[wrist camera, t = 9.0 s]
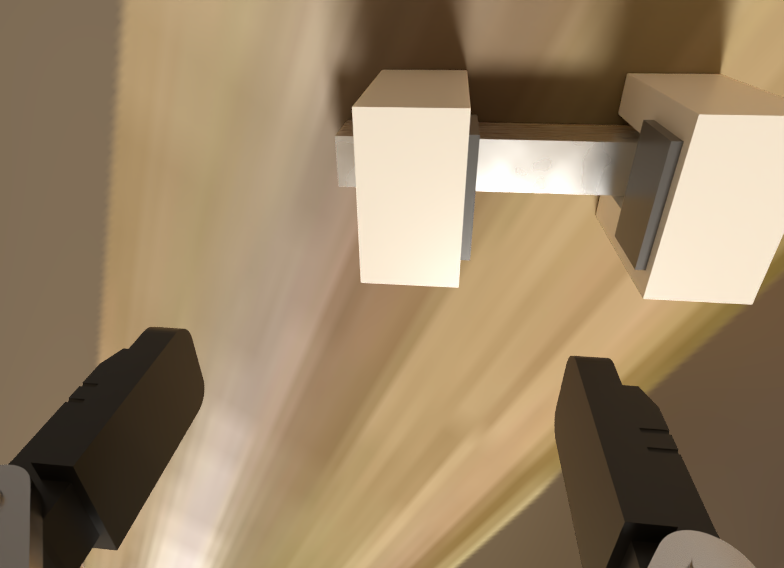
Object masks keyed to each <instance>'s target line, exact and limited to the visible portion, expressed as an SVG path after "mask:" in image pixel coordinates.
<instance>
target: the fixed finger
mask: <svg viewBox="0 0 784 568" xmlns="http://www.w3.org/2000/svg"><path fill="white" fill-rule="evenodd" d="M618 114H619V115H620V116H621V117H622V118H623V119H624V120H625V121H627V122H628V123H629V124H630V125H631V126H632V127H634V128H635V129H636V130H637V131H638V132H639V133H640V136H639V140H638V144H637V148H636V152H635V156H634V160H633V164H632V168H631V172H630V176H629V180H628V184H627V188H626V192H625V196H614V195H600V198H599V203H598V207H597V212H596V218H597V219H598V221H599V223H600V224H601V226H602V228H603V230H604V231H605V233H606V235H607V237H608V238H609V240H610V242H611V244H612V245H613V247H614V249H615V251H616V252H617V254H618V256H619V258H620V259H621V261H622V263H623V265H624V266H625V268H626V270H627V272H628V273H629V275H630V277H631V279H632V280H633V282H634V284H635V285H636V287H637V289H638V291H639V292H640V294H641V296H642V298H643V299H657V300H676V301H695V302H714V303H734V304H753V301H754V299H755V297H756V295H757V292H758V290H759V288H760V286H761V283H762V281H763V279H764V277H765V274H766V272H767V270H768V268H769V265H770V263H771V261H772V258H773V256H774V254H775V252H776V249H777V247H778V245H779V243H780V240H781V238H782V236H783V234H784V97H781V96H778V95H776V94H773V93H770V92H767V91H765V90H762V89H759V88H757V87H754V86H751V85H749V84H746V83H743V82H741V81H738V80H735V79H733V78H730V77H727V76H724V75H722V74H658V73H627V76H626V81H625V85H624V90H623V94H622V99H621V103H620V108H619V112H618Z"/></svg>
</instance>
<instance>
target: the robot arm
mask: <svg viewBox="0 0 784 568" xmlns="http://www.w3.org/2000/svg"><path fill="white" fill-rule="evenodd" d="M203 397H204V380H203V377H202V373H201V369H200V366H199V362H198V358H197V355H196V351H195V347H194V344H193V340H192V337H191V334H190V333H189V331H188V330H186V329H178V328H163V327H149V328H147V329H146V330H145V331H144V332H143V333H142V334H141V335H140V336H139V338H138V339H137V340H136V341H135V342H134V343H133V345H132V346H131V347H130V348H129V349H122V350H120V351H119V352H117V353H116V354H114V355H113V356H111V357H110V358H108V359H107V360H105V361H103V362H102V363H100V364H99V365H98V366H97V367H96V369H95V370H94V371H93V372H92V373H91V374H90V375H89V376H88V378H86V380H85V381H84V382H83V386H79V387H78V389H77V390H76V391H75V392H74V393H73V394H72V395H71V396H70V397H69V401H68V402H65V403H64V404H63V405H62V406H61V407H60V408H59V410H57V412H56V413H55V414H54V415H53V416H52V417H51V418H50V419H49V420H48V422H47V423H46V424H45V425H44V426H43V427H42V428H41V429H40V430H39V432H38V433H37V434H36V435H35V436H34V437H33V438H32V439H31V440H30V441H29V443H28V444H27V445H26V446H25V447H24V448H23V449H22V450H21V452H19V454H18V455H17V456H16V457H15V458H14V459H13V460H12V461H11V462H10V463H9V464H8V465H0V568H85V567H84V565H83V562H84V560H85V559H86V557H87V555H88V554H89V552H90V551H91V549H92V548H100V549H109V550H118V548H119V546H120V545H121V543H122V541H123V539H124V538H125V536H126V534H127V533H128V531H129V529H130V528H131V526H132V524H133V522H134V521H135V519H136V517H137V516H138V514H139V512H140V510H141V509H142V507H143V505H144V504H145V502H146V500H147V498H148V497H149V495H150V493H151V492H152V490H153V488H154V487H155V485H156V483H157V481H158V480H159V478H160V476H161V475H162V473H163V471H164V469H165V468H166V466H167V464H168V463H169V461H170V459H171V457H172V456H173V454H174V452H175V451H176V449H177V447H178V446H179V444H180V442H181V440H182V439H183V437H184V435H185V434H186V432H187V430H188V428H189V427H190V425H191V423H192V422H193V420H194V418H195V416H196V415H197V413H198V411H199V409H200V407H201V405H202V401H203ZM555 439H556V444H557V449H558V454H559V458H560V463H561V468H562V473H563V477H564V482H565V487H566V491H567V496H568V501H569V506H570V511H571V515H572V520H573V525H574V530H575V535H576V539H577V544H578V549H579V554H580V558H581V563H582V567H583V568H755V567H754V565H753V564H752V563H751V562H750V561H749V560H748V559H747V558H746V557H745V556H744V555H743V554H741V553H740V552H739V551H738V550H736V549H735V548H734V547H732V546H731V545H729V544H728V543H726V542H724V541H723V540H721V539H720V538H719V536H718V534H717V532H716V531H715V528H714V526H713V524H712V522H711V520H710V518H709V515H708V513H707V511H706V509H705V507H704V504H703V502H702V500H701V498H700V496H699V494H698V492H697V489H696V487H695V485H694V483H693V481H692V479H691V476H690V474H689V472H688V470H687V468H686V465H685V463H684V461H683V459H682V457H681V455H679V454H678V448H677V446H676V444H675V442H674V439H673V438H672V435H669V429H668V426H667V424H666V422H665V420H664V418H663V416H662V413H661V411H660V409H659V407H658V406H657V405H656V404H655V403H654V402H653V401H652V400H651V399H650V398H649V397H648V396H647V395H646V394H645V393H644V392H643V391H642V390H641V389H640V388H639V387H638V386H625V385H622V383H621V381H620V378H619V376H618V373H617V371H616V368H615V366H614V363H613V362H612V360H611V359H609V358H598V357H583V356H570V357H569V359H568V361H567V364H566V369H565V373H564V377H563V381H562V385H561V390H560V394H559V398H558V402H557V406H556V411H555Z"/></svg>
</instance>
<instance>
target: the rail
mask: <svg viewBox="0 0 784 568" xmlns="http://www.w3.org/2000/svg"><path fill="white" fill-rule="evenodd" d="M478 124H479V131H480V141H479V154H478V166H477V178H476V191H491V192H521V193H552V194H583V195H614V196H625V192H626V188H627V184H628V180H629V176H630V172H631V168H632V164H633V160H634V156H635V152H636V148H637V144H638V140H639V136H640V133H639V132H638V131H637V130H636V129H635V128H634V127H632V126H631V125H594V124H541V123H488V122H478ZM335 144H336V159H337V173H338V187H356V176H355V156H354V137H353V120H347V121H346V122H345V124H344V125H343V126H342V127H341V129H340V130H339V131H338V133H337V134H336V135H335Z"/></svg>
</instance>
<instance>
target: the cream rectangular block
mask: <svg viewBox="0 0 784 568" xmlns="http://www.w3.org/2000/svg"><path fill="white" fill-rule="evenodd" d="M470 113H471V105H470V95H469V85H468V75H467V70H381V72H380V73H379V74H378V75H377V77H376V78H375V79H374V80H373V82H372V83H371V84H370V85H369V86H368V88H367V89H366V90H365V91H364V93H363V94H362V95H361V96H360V98H359V99H358V100H357V101H356V102H355V104H354V105H353V106H352V117H353V137H354V156H355V176H356V196H357V215H358V235H359V255H360V274H361V283H378V284H398V285H418V286H439V287H459V273H460V260H470V253H471V241H472V228H473V216H474V203H475V191H476V178H477V166H478V154H479V141H480V131H479V124H478V117H477V115H470Z"/></svg>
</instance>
